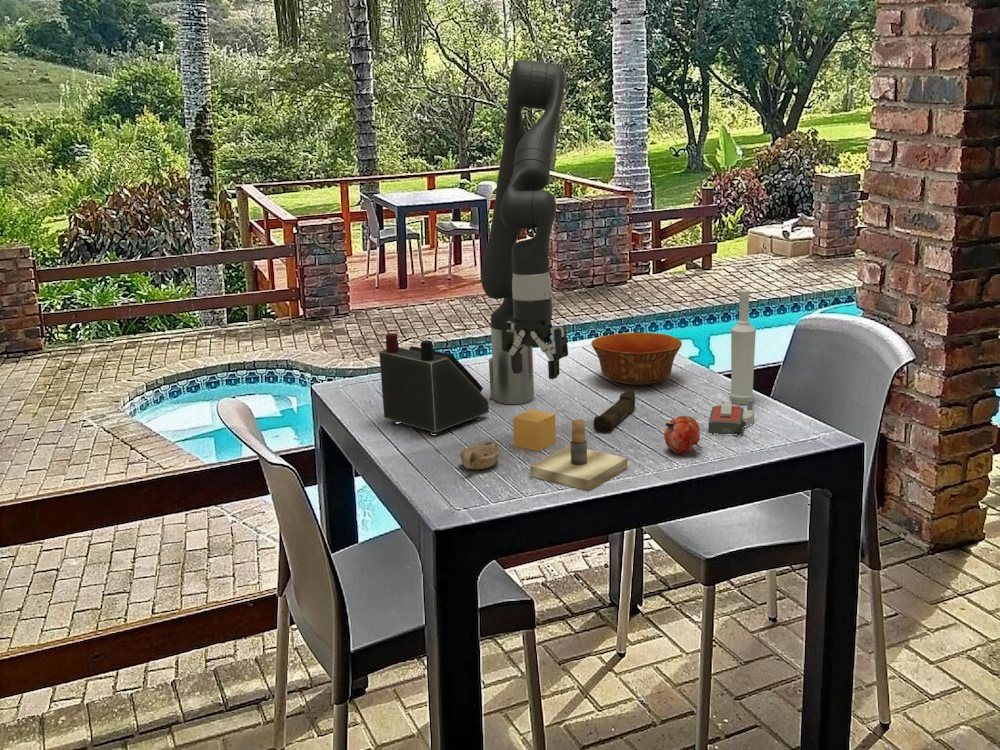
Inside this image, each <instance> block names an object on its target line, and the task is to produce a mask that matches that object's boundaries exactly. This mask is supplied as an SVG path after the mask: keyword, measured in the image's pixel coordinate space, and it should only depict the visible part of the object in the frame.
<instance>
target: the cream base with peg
mask: <svg viewBox="0 0 1000 750" xmlns="http://www.w3.org/2000/svg"><path fill="white" fill-rule="evenodd" d="M587 442H588V441H587V440H586V422H585V420H584V419H581V418H580V419H578V418H577V419H573V420H571V440H570V445H568V446H566V447H564V448H562V449H560V450H559V451H557V452H555V453H553V454H551V455H549V456H547V457H546V458H543V459H541V460H540V461H537V462H535V463H533V464H532V465H530V467H529V469H530V470H529V471H530V472H529V473H530V475H529V476H530V477H532V478H535V479H539V480H542V481H543V480H544V481H548V482H551V483H552V482H553V483H555V484H561V485H565V486H568V487H571V488H572V487H573V488H577V489H581V490H584V491H591V490H593V489H595V488H596V487H598V486H600V485H601V484H603V483H605V482H607V481H609V480H610V479H611V478H614V477H615V476H617V475H618V474H620V473H622V472H623V471H625V470H627V469H628V457H624V456H619V455H615V454H610V453H605V452H601V451H596V450H594V449H593V450H592V449H588V445H587V444H588V443H587Z"/></svg>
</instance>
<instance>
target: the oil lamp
mask: <svg viewBox="0 0 1000 750" xmlns="http://www.w3.org/2000/svg"><path fill="white" fill-rule="evenodd" d="M459 456H460V459H461V462H462V464H463V466H464V467H465V468H466V469H470V470H474V471H479V470H486V469H489V468H492V467H493V466H494V465H495V464H496V463H497V462H498V458H499V456H500V447H499V445H498V443H497V442H494V441H483V442H479V445H471V446H470V447H466V448H463V449H462V450H460V452H459Z"/></svg>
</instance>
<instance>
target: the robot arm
mask: <svg viewBox="0 0 1000 750" xmlns="http://www.w3.org/2000/svg"><path fill="white" fill-rule="evenodd" d="M565 79H566V78H565V71H564V68H563V67H562V66H561V65H559V64H555V63H551V62H550V63H549V62H544V61H543V62H541V61H537V60H536V61H534V60H530V59H529V60H528V59H527V60H526V59H516V60H515V62H514V63H513V65H512V68H511V70H510V75H509V81H508V82H509V83H508V93H507V94H508V95H507V106H506V117H505V130H504V136H503V137H504V138H503V144H502V145H503V146H502V150H501V157H500V163H499V167H498V173H497V174H498V175H497V180H496V181H497V182H496V189H495V200H494V208H493V213H492V218H491V224H490V231H489V235H488V240H487V245H486V248H485V252H484V257H483V260H482V264H481V272H480V279H481V280H480V281H481V282H480V283H481V286H482V289H483V291H484V293H485V295H486V296H487V297H489V298H490V299H493V300H501V299H502V300H503V301H502V303H501V304H500V305H499V307H497V308H496V309H495V310H494V311H493V312H492V313H491V315H490V333H491V334H490V336H491V357H489V359H488V370H489V371H488V372H489V374H488V375H489V390H490V392H489V393H490V394H489V395H490V399H491V400H494V401H495V402H497V403H499V404H505V405H519V404H525V403H529V402H531V401H533V400H534V399H535V387H534V386H535V385H534V382H535V381H534V379H535V378H534V377H535V376H534V356H533V354H534V353H533V350H534V349H533V348H540V350H541V352H542V353H544V354H545V356H546V357H547V359H548V361H547V365H548V368H547V369H548V370H547V371H548V379H549V380H555V379H557V378H558V376H560V374H561V372H560V360H562V359H563V358H566V357H568V355H569V346H568V333H567V328H566V326H564V325H562V326H559V327H556V326H553V325H552V318H553V303H552V302H553V300H552V299H553V297H552V281H551V276H550V275H551V274H550V264H549V263H550V262H549V261H550V260H549V259H550V257H549V246H550V238H551V233H552V227H553V225H554V221H555V218H556V213H557V203H556V199H555V197H554V195H553V194H552V193H551V192H550V191H548V190H544V189H545V188H546V187H547V185H548V184H549V180H550V170H551V159H552V151H553V144H554V139H555V136H556V132H557V128H558V123H559V119H560V118H559V117H560V114H561V108H562V103H563V98H564V91H565V82H566V81H565ZM523 108H528V109H534V110H542V111H544V112H543V113H542V115H541V117H540V118H539V119H538V120H537V121H536V122H535V124H534V125H532V127H530V128H529V129H528V130H526V128H525V125H524V120H523V116H522V115H523V114H522V109H523ZM524 229H537V230H536V234H535V235H534V236H533V237H531V238H528V239H524V240H520V241H518V238H519V237H520V234H521V232H522V231H523V230H524ZM553 338H554V339H553Z"/></svg>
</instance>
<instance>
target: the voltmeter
mask: <svg viewBox="0 0 1000 750" xmlns="http://www.w3.org/2000/svg"><path fill="white" fill-rule="evenodd" d="M385 346H386V348H385V349H383V350H379V351H378V352H379V353H378V354H379V367H380V377H381V378H380V379H381V391H382V392H381V394H382V406H383V418H384V419H388V420H391V421H392V422H393V423H394V422H401V423H402V424H405V425H408V426H412V427H415V428H418V429H423V430H426V431H429V432H430V434H431V433H432V434H440V433H442V431H443V430H445V429H448V428H451V427H453V426H456V425H459V424H461V423H464V422H467V421H469V420H471V419H472V420H471V421H479V420H478V419H481V416H482V415H486V414H488V413H490V401H489V400H488V399H487V398H486V397H485V396H484V394H483V393H482V391H483V389H484V387H483V386H482V385H481V384H480V383H479V381H478V380H477V379H476V378H475V377H474V376H473V375H472V374H471V373H470V371H468V369H466V367H465V366H464V365H463V364H462V363H461V362H460V361H459V360H458V359H457V358H456V357H455V356H454V355H453V354H451V353H446V352H443V351H442V352H441V351H436V350H434V346H433V341H432V340H422V341H420V347H418V346H413V345H412V346H410V347H409V349H408V348H403V347H400V346H399V340H398V333H387V334H386V335H385ZM440 435H441V434H440Z"/></svg>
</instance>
